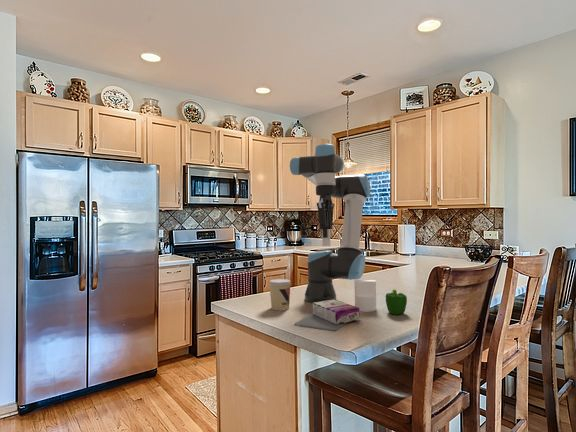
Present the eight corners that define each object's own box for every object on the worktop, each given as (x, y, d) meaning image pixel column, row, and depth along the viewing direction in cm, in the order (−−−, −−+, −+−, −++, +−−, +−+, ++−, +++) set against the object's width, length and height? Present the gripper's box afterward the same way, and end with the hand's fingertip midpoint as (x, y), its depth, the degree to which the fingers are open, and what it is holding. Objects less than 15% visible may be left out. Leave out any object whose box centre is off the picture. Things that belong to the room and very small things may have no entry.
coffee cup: (283, 312, 148) (283, 283, 148) (265, 309, 153) (265, 281, 153) (294, 307, 156) (294, 279, 156) (277, 304, 161) (277, 278, 161)
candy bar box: (360, 321, 132) (335, 310, 147) (360, 307, 132) (335, 298, 147) (335, 325, 127) (312, 314, 142) (335, 311, 127) (312, 302, 142)
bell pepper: (394, 309, 149) (394, 285, 149) (411, 313, 142) (410, 289, 142) (380, 312, 145) (380, 288, 145) (396, 317, 138) (396, 291, 138)
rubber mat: (294, 325, 130) (294, 324, 130) (312, 313, 145) (312, 312, 145) (335, 331, 122) (335, 329, 122) (350, 318, 137) (350, 317, 137)
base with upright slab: (356, 311, 147) (356, 282, 147) (353, 306, 156) (353, 279, 156) (378, 311, 147) (377, 282, 147) (374, 306, 156) (373, 278, 156)
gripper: (322, 186, 144) (323, 244, 143) (309, 184, 132) (310, 247, 132) (340, 185, 140) (341, 245, 140) (328, 183, 129) (329, 247, 128)
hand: (326, 246), depth 136 cm, fingers closed
